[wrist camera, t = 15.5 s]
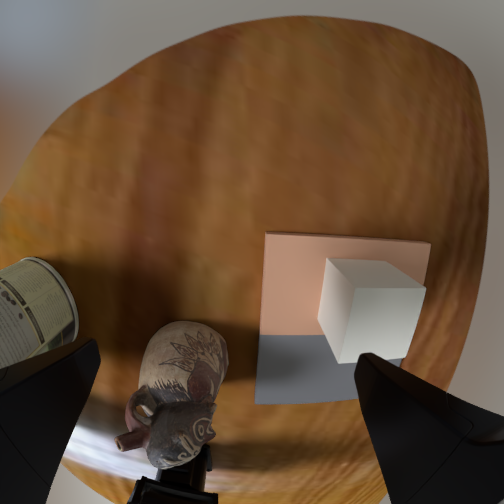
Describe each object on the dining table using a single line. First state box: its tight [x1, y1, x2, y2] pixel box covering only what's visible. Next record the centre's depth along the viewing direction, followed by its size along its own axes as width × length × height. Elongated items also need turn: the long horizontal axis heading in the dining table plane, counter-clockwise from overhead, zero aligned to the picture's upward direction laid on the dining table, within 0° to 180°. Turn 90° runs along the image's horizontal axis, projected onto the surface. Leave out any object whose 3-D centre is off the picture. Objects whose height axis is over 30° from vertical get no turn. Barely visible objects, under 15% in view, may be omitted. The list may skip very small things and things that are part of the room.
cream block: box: [317, 258, 427, 364], centre depth 18 cm, size 5×5×6 cm
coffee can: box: [0, 257, 79, 369], centre depth 15 cm, size 10×10×14 cm
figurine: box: [115, 321, 229, 469], centre depth 17 cm, size 7×7×12 cm
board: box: [255, 232, 431, 404], centre depth 22 cm, size 16×14×1 cm
